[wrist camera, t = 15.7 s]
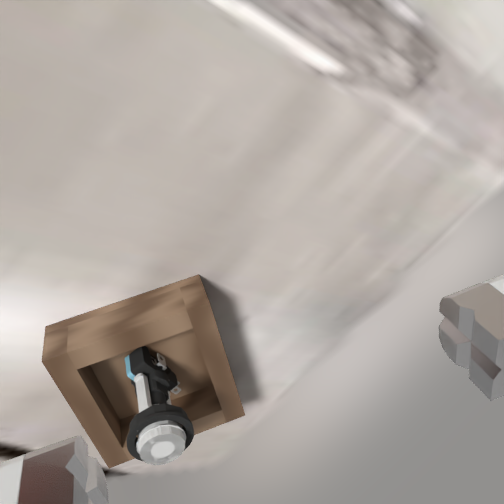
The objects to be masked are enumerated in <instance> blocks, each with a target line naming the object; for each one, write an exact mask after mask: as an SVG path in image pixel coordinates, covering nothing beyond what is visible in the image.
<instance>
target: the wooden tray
mask: <svg viewBox="0 0 504 504" xmlns="http://www.w3.org/2000/svg"><path fill="white" fill-rule="evenodd" d="M142 346H146V347H147V348H148V349H149V352H150V354H151V355H152V356H154V357H155V358H156V359H158V358H157V353H159V354H160V355H162V356H163V357H164V358H165V362H166V366H168V367H169V368H170V369H171V371H172V372H174V373H175V375H176V378H177V381H178V382H180V384H179V385H178V387H179V388H180V389H181V391H180V392H179V393H178V394H174V393H173V392H171V391H170V400H171V405H174V406H178V407H181V408H182V409H183V410H184V411H185V412H186V413H187V416H188V418H189V419H190V421H191V422H192V425H193V428H194V435H196V434H198V433H201V432H203V431H206V430H209V429H211V428H214V427H216V426H219V425H221V424H224V423H226V422H229V421H232V420H234V419H237V418H239V417H242V416H244V415H245V413H244V410H243V407H242V403H241V400H240V397H239V394H238V391H237V388H236V384H235V381H234V378H233V375H232V372H231V369H230V365H229V362H228V359H227V356H226V353H225V350H224V346H223V343H222V340H221V337H220V334H219V331H218V327H217V324H216V321H215V318H214V315H213V312H212V308H211V305H210V302H209V300H208V297H207V294H206V292H205V289H204V286H203V284H202V281H201V279H200V276H199V275H196V276H193V277H190V278H187V279H184V280H181V281H178V282H176V283H173V284H170V285H167V286H164V287H161V288H158V289H155V290H152V291H149V292H146V293H143V294H140V295H137V296H134V297H131V298H128V299H125V300H122V301H119V302H117V303H114V304H111V305H108V306H105V307H102V308H99V309H96V310H93V311H90V312H87V313H84V314H81V315H78V316H75V317H72V318H69V319H66V320H63V321H60V322H58V323H55V324H52V325H49V326H46V328H45V337H44V346H43V355H42V363H43V364H44V366H45V367H46V369H47V371H48V372H49V374H50V375H51V377H52V378H53V380H54V382H55V383H56V385H57V386H58V388H59V390H60V391H61V393H62V394H63V396H64V398H65V399H66V401H67V402H68V404H69V405H70V407H71V409H72V410H73V412H74V413H75V415H76V417H77V418H78V420H79V421H80V423H81V425H82V426H83V428H84V429H85V431H86V432H87V434H88V436H89V437H90V439H91V440H92V442H93V444H94V445H95V447H96V448H97V450H98V452H99V453H100V455H101V456H102V458H103V459H104V461H105V463H106V464H107V466H108V467H109V468H111V467H114V466H116V465H119V464H121V463H124V462H127V461H129V460H132V459H134V457H133V456H132V455H131V454H130V453H129V451H128V449H127V442H126V440H127V435H128V433H129V431H130V422H131V421H132V419H133V418H134V416H135V415H136V414H138V413H139V407H138V399H137V397H136V394H135V387H134V386H133V385H132V384H131V379H130V378H129V377H128V376H127V374H126V364H125V357H127V356H128V355H129V354H130V353H132V352H133V351H134V350H135V349H137V348H139V347H142ZM160 359H161V360H162V358H161V357H160ZM162 361H163V360H162ZM177 390H178V389H174V391H177ZM181 425H182V424H181ZM136 437H137V438H138V435H137V436H136Z"/></svg>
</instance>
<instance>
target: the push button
mask: <svg viewBox="0 0 504 504" xmlns="http://www.w3.org/2000/svg"><path fill="white" fill-rule="evenodd" d="M160 357H161V358H162V360H163V361H162V360H161V359H160ZM157 358H158V359H156V358H155V357H154V356H152V355H151V354H150V352H149V349H148V348H147V347H146V346H142V347H139V348H137V349H135V350H134V351H133V352H132V353H130V354H129V355H128V356H127V357H125V364H126V374H127V376H128V377H129V378H130V379H131V384H132V385H133V386H134V387H135V394H136V397H137V399H138V407H139V413H138V414H136V415H135V416H134V418H133V419H132V421H131V422H130V431H129V433H128V435H127V440H126V442H127V449H128V451H129V453H130V454H131V455H132V456H133V457H134V458H136V459H138V460H141V461H144V462H145V463H148V464H152V465H161V464H166V463H169V462H171V461H174V460H175V459H177V458H178V457H179V456H180V455H181V454H182V452H183V451H184V450H185V449H186V448H187V447H188V446H189V445H190V443H191V442H192V439H193V437H194V428H193V425H192V422H191V421H190V419H189V418H188V416H187V413H186V412H185V411H184V410H183V409H182V408H181V407H178V406H174V405H171V400H170V391H171V392H173V393H174V394H178V393H179V392H180V391H181V389H180V388H179V387H178V385H179V384H180V382H178V381H177V378H176V375H175V373H174V372H172V371H171V369H170V368H169V367H168V366H166V362H165V358H164V357H163V356H162V355H160V354H159V353H157ZM174 389H178V390H177V391H174ZM181 424H182V425H181ZM137 435H138V438H137V437H136V436H137Z"/></svg>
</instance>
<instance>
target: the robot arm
mask: <svg viewBox="0 0 504 504" xmlns="http://www.w3.org/2000/svg"><path fill="white" fill-rule="evenodd" d="M440 312H441V313H442V314H443V315H444V316H445V318H444V319H443V321H442V322H441V324H440V325H439V338H440V341H441V344H442V347H443V349H444V350H445V352H446V353H447V355H448V357H449V358H450V359H451V360H452V361H453V362H454V363H455V364H456V365H458V366H461V367H464V368H467V369H469V379H470V380H471V381H472V382H473V383H474V384H475V385H476V386H477V387H478V388H479V389H480V390H481V391H482V392H483V393H484V394H485V395H486V396H487V398H488V399H490V401H492V400H494V399H497V398H499V397H502V396H504V275H500V276H498V277H495V278H492V279H490V280H487V281H485V282H482V283H479V284H476V285H474V286H471V287H469V288H466V289H464V290H461V291H458V292H456V293H453V294H451V295H448V296H446V297H443V299H442V300H441V302H440ZM0 504H109V501H108V489H107V484H106V479H105V475H104V473H103V470H102V468H101V465H100V464H99V462H98V460H97V459H96V458H93V457H90V456H88V445H87V443H86V442H85V441H84V439H83V438H82V436H75V437H72V438H69V439H66V440H63V441H61V442H58V443H55V444H52V445H49V446H46V447H43V448H41V449H38V450H35V451H32V452H29V453H27V454H25V455H22V456H19V457H16V458H13V459H10V460H8V461H5V462H2V463H0Z"/></svg>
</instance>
